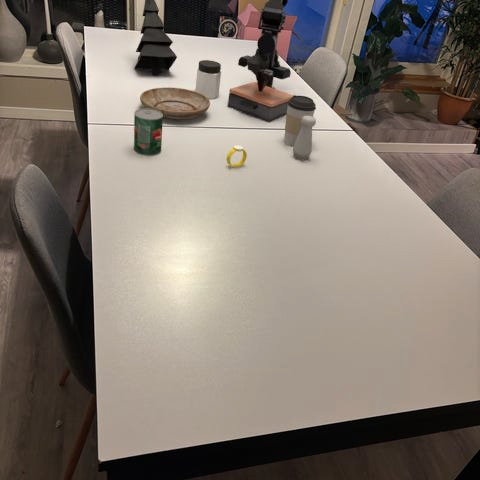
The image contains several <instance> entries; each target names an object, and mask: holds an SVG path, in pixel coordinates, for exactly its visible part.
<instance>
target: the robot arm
mask: <svg viewBox="0 0 480 480" xmlns="http://www.w3.org/2000/svg"><path fill="white" fill-rule="evenodd" d="M288 2H289V0H268V1H267V2H265V3H264V6H263V8H261V11H260V16H259V19H258V20H259V22H258V27H257V30H260V31H261V32H260V36H259V37H258V40H257V42H256V43H257V44H256V45H257V48H256V50H255V53H254V55H252V56H251V55H249V54H247V55H244V56H241V57H239V59H238V63H237V65H238V66H240V67H242V68H246V67H247V70H248V71H250V72H251V73H252V74H254V75H255V79H256V83H257V84H258V89H259V91H260V92H262V91H263V89H264V87H265V86H268V87H271V88H274V89H276V88H275V87H273V84H274V79H279V80H285V79H288V78H291V74H292V72H291V69H290V68H289V67H285V66H281V64H280V61H279V57H280V55H279V53H278V50H277V44H278V39H279V34H280V33H282V30H284V27H285V23H286V13H285V12H284V8H285V7H286V6H287V4H288Z"/></svg>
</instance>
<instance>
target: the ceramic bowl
mask: <svg viewBox="0 0 480 480" xmlns="http://www.w3.org/2000/svg"><path fill="white" fill-rule="evenodd" d="M139 99H140V103H141V105H142V106H143V107H144V109H145V108H147V109H155V110H158V111H160V112H161V113H162V114H163V118H166V119H172V120H189V119H193V118H197V117H200V116H201V115H203V114H205V113H206V112H207V111H208V110H209V109H210V106H211V101H210V99H208V98H207V97H206V96H204V95H202V94H200V93H198V92H195V90H191V89H187V88H182V87H181V88H180V87H169V86H168V87H155V88H151V89H147V90H145V91H143V92H142V93H141V94H140V97H139Z"/></svg>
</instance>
